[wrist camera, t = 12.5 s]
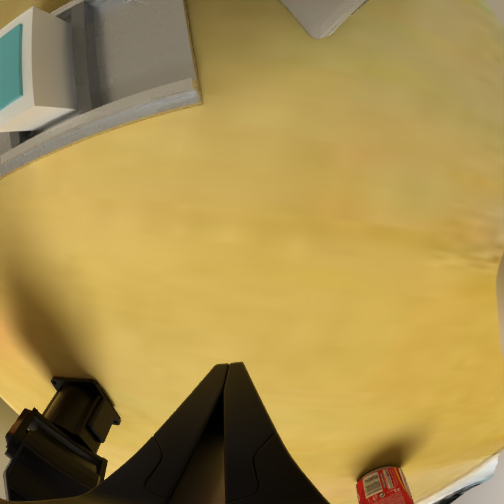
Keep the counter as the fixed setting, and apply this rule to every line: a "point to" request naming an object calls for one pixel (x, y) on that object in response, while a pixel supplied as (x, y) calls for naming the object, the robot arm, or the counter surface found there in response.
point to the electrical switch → (322, 14)
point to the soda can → (384, 487)
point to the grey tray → (115, 74)
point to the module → (36, 71)
